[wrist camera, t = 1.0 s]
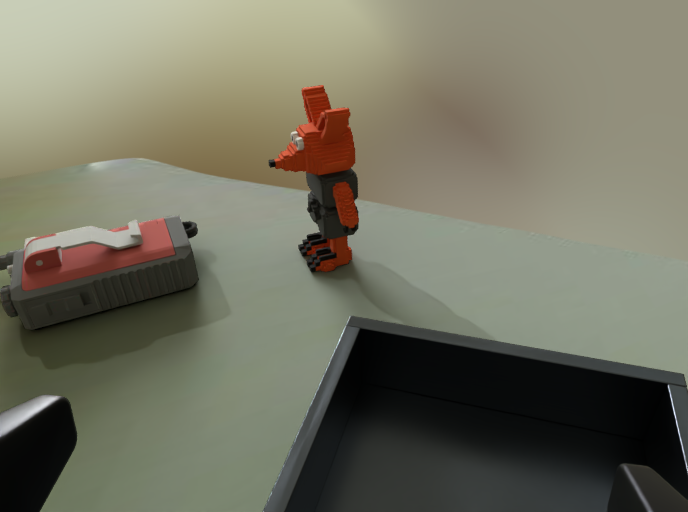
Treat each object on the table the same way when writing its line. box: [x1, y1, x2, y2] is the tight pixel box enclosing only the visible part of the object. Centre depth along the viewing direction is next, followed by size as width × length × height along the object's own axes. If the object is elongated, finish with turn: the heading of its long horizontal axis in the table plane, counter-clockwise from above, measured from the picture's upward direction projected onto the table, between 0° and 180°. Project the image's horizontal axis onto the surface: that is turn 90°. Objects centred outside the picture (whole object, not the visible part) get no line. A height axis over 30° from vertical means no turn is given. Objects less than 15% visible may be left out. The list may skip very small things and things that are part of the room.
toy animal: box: [269, 85, 359, 272], centre depth 38 cm, size 8×6×12 cm
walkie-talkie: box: [0, 216, 199, 330], centre depth 38 cm, size 9×4×20 cm
